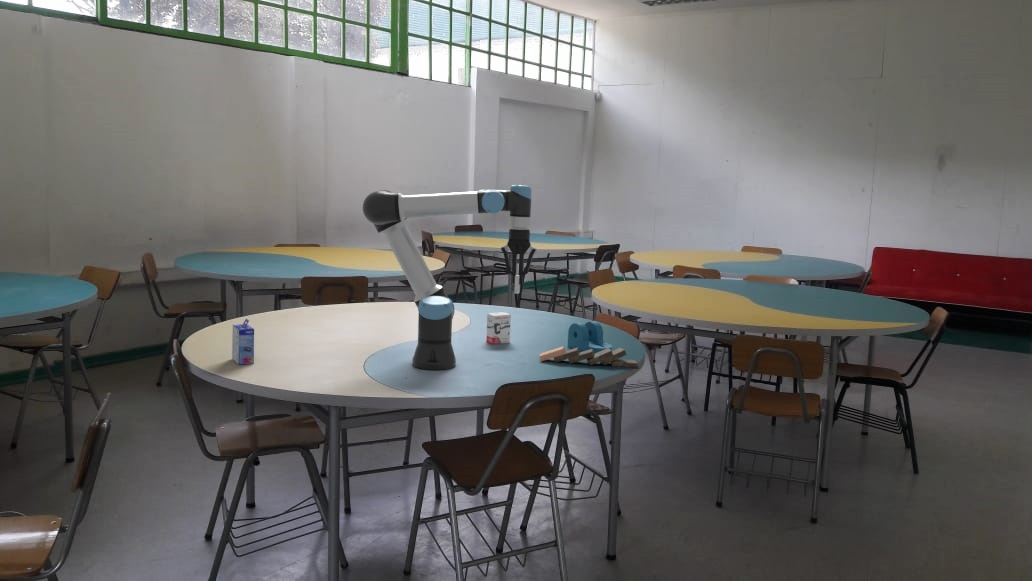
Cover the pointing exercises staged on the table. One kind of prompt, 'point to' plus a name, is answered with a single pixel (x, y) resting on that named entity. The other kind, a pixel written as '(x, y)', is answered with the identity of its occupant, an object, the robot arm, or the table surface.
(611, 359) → the tile
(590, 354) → the tile
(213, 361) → the table surface
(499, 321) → the ink box
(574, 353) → the tile
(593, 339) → the camera mount
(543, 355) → the tile
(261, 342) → the table surface
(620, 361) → the tile
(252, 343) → the ink cartridge box
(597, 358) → the tile
